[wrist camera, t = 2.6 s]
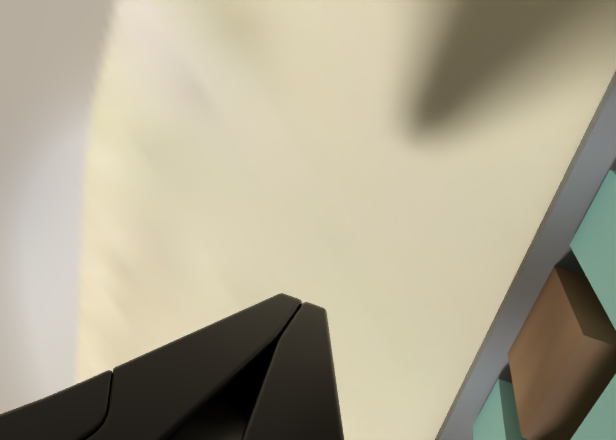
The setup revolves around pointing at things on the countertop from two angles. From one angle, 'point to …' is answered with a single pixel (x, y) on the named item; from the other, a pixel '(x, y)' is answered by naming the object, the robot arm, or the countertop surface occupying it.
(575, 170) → the rail track
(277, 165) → the countertop surface
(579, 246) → the block
